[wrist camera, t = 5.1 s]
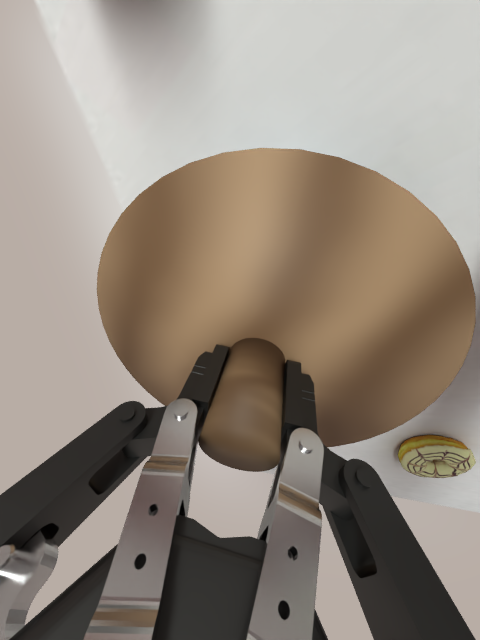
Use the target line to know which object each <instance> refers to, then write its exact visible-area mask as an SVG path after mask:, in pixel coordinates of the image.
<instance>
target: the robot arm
mask: <svg viewBox="0 0 480 640" xmlns="http://www.w3.org/2000/svg"><path fill="white" fill-rule="evenodd" d="M229 350H230V347H228V346H223V345H219V344H216V346H215V348H214V350H213V353H211V352H206V351H205V352H204V353H203V354H201V355H200V356H199V357H198V359H197V361H196V363H195V365H194V367H193V369H192V371H191V373H190V375H189V377H188V379H187V381H186V383H185V385H184V387H183V389H182V391H181V393H180V395H179V396H178V398H177V399H176V400H174V401H173V402H171V403H170V404H169V405H167V406H165V407H159V408H145V407H144V406H143V405H142V404H141V403H139V402H136V401H129V402H125V403H123V404H121V405H119V406H118V407H117V408H115V409H114V410H113V411H111V412H110V413H109V414H107V415H106V416H105V417H103V418H102V419H101V420H99V421H98V422H97V423H96V424H94V425H93V426H91V427H90V428H89V429H87V430H86V431H85V432H83V433H82V434H81V435H79V436H78V437H77V438H75V439H74V440H73V441H71V442H70V443H69V444H67V445H66V446H65V447H63V448H62V449H61V450H59V451H58V452H57V453H56V454H54V455H53V456H51V457H50V458H49V459H48V460H46V461H45V462H44V463H42V464H41V465H40V466H39V467H37V468H36V469H34V470H33V471H32V472H30V473H29V474H28V475H26V476H25V477H24V478H22V479H21V480H20V481H18V482H17V483H16V484H15V485H13V486H12V487H10V488H9V489H8V490H6V491H5V492H4V493H2V494H1V495H0V640H328V638H327V636H326V634H325V631H324V629H323V627H322V624H321V622H320V620H319V617H318V616H317V613H316V611H315V597H316V584H317V574H318V563H319V551H320V539H321V528H322V515H321V511H320V510H319V503H320V504H321V505H322V506H323V508H324V511H325V513H326V516H327V519H328V521H329V524H330V526H331V529H332V532H333V534H334V537H335V539H336V542H337V545H338V547H339V550H340V552H341V555H342V557H343V560H344V563H345V565H346V568H347V571H348V573H349V576H350V578H351V581H352V584H353V586H354V589H355V591H356V594H357V596H358V599H359V602H360V604H361V607H362V609H363V612H364V615H365V617H366V620H367V623H368V625H369V628H370V630H371V633H372V636H373V638H374V640H475V638H474V636H473V635H472V633H471V631H470V630H469V628H468V626H467V624H466V623H465V621H464V619H463V618H462V616H461V614H460V613H459V611H458V609H457V607H456V606H455V604H454V602H453V601H452V599H451V597H450V596H449V594H448V592H447V591H446V589H445V587H444V585H443V584H442V582H441V580H440V579H439V577H438V575H437V574H436V572H435V570H434V569H433V567H432V565H431V563H430V562H429V560H428V558H427V557H426V555H425V553H424V552H423V550H422V548H421V547H420V545H419V543H418V542H417V540H416V538H415V537H414V535H413V533H412V531H411V530H410V528H409V526H408V525H407V523H406V521H405V519H404V518H403V516H402V514H401V513H400V511H399V509H398V508H397V506H396V504H395V503H394V501H393V499H392V497H391V496H390V494H389V492H388V491H387V489H386V487H385V486H384V484H383V482H382V481H381V479H380V477H379V475H378V474H377V472H376V471H375V470H374V469H373V468H372V467H371V466H370V465H369V464H367V463H366V462H364V461H362V460H359V459H351V460H349V461H346V460H345V459H343V458H341V457H340V456H338V455H337V454H335V453H333V452H332V451H330V450H329V449H328V448H327V447H326V446H325V445H324V444H323V443H322V441H321V439H320V437H319V435H318V430H317V418H316V404H315V394H314V393H315V391H314V383H313V381H312V379H311V377H310V375H308V374H304V373H301V363H300V362H296V361H291V360H287V361H286V363H285V376H284V393H283V410H282V427H281V447H280V461H279V463H278V465H277V467H276V471H275V475H274V479H273V483H272V486H271V491H270V494H269V499H268V502H267V506H266V510H265V513H264V516H263V519H262V522H261V525H260V529H259V533H258V537H257V539H256V538H253V537H233V538H219V537H217V536H216V535H214V534H213V533H212V532H210V531H209V530H208V529H206V528H205V527H203V526H202V525H201V524H199V523H198V522H197V521H195V520H194V519H191V518H188V517H187V515H188V508H189V501H190V490H191V483H192V477H193V470H194V464H195V458H196V452H197V445H198V439H199V436H200V433H201V430H202V427H203V425H204V422H205V419H206V416H207V414H208V411H209V408H210V405H211V403H212V400H213V397H214V394H215V391H216V388H217V386H218V383H219V380H220V377H221V374H222V371H223V369H224V366H225V363H226V360H227V357H228V354H229ZM147 456H151V458H150V459H149V461H147V462H146V463H145V465H144V467H143V469H142V472H141V475H140V478H139V481H138V484H137V487H136V490H135V494H134V497H133V500H132V503H131V506H130V509H129V512H128V515H127V518H126V521H125V524H124V527H123V531H122V534H121V537H120V540H119V543H118V544H117V545H116V546H115V547H114V548H113V549H111V550H110V551H109V552H108V553H107V554H106V555H105V556H104V557H102V558H101V559H100V560H99V561H98V562H97V563H96V564H94V565H93V566H92V567H91V568H90V569H89V570H88V571H86V572H85V573H84V574H83V575H82V576H81V577H80V578H78V579H77V580H76V581H75V582H74V583H73V584H72V585H71V586H69V587H68V588H67V589H66V590H65V591H64V592H63V593H61V594H60V595H59V596H58V597H57V598H56V599H55V600H53V602H51V603H50V604H49V605H48V606H47V607H45V608H44V609H43V610H42V611H41V612H40V613H39V614H38V615H36V616H35V617H34V618H33V619H32V620H31V621H30V622H28V623H27V624H26V625H25V620H26V615H27V613H28V610H29V607H30V605H31V603H32V601H33V599H34V597H35V596H36V594H37V593H38V591H39V590H40V589H41V587H42V586H43V585H44V583H45V582H46V581H47V579H48V578H49V577H50V575H51V573H52V571H53V570H54V567H55V565H56V562H57V558H58V547H59V546H60V545H61V544H62V543H63V542H64V541H65V539H66V538H67V537H69V535H70V534H71V533H72V532H73V531H74V530H75V529H76V528H77V527H78V526H79V525H80V524H81V523H82V522H83V521H84V520H85V519H86V518H87V517H88V516H89V515H90V514H91V513H92V512H93V511H94V510H95V509H96V508H97V507H98V506H99V505H100V504H101V503H102V502H103V501H104V500H105V499H106V498H107V497H108V496H109V495H110V494H111V493H112V492H113V491H114V490H115V489H116V488H117V487H118V486H119V485H120V483H122V481H124V479H126V478H127V477H128V475H130V474H131V472H132V471H133V470H134V469H135V468H136V467H137V466H138V465H139V464H140V463H141V462H142V461H143V460H144V459H145V458H146V457H147Z"/></svg>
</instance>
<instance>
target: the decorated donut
mask: <svg viewBox="0 0 480 640" xmlns="http://www.w3.org/2000/svg"><path fill="white" fill-rule="evenodd" d="M398 457H399V461H400V463H401V465H402V467H403V468H404V469H405V470H407V471H408V472H410V473H412V474H415V475H418V476H421V477H433V478H446V477H453V476H458V475H459V474H462V473H464V472H467V471H468V470H470V469H471V468H472V467H473V466H474V464H475V463H476V461H475V459H474V456H473V453H472V451H471V450H470V449H468V448H467V447H466V446H465V445H464V444H463V443H462V442H459V441H456V440H454V439H452V438H446V437H443V436H435V435H424V436H418V437H413V438H410V439H407V440H406V441H404V443H402V444H401V447H400V450H399V453H398Z"/></svg>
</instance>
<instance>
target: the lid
mask: <svg viewBox="0 0 480 640" xmlns="http://www.w3.org/2000/svg"><path fill="white" fill-rule="evenodd" d="M97 296H98V305H99V311H100V315H101V319H102V323H103V326H104V329H105V331H106V334H107V336H108V338H109V341H110V343H111V345H112V347H113V348H114V350H115V352H116V354H117V356H118V357H119V359H120V360H121V362H122V363H123V365H124V366H125V367H126V369H127V370H128V371H129V372H130V374H131V375H132V376H133V377H134V378H135V379H136V381H137V382H138V383H140V385H141V386H142V387H143V388H144V389H145V390H146V391H147V392H148V393H150V394H151V395H152V396H153V397H154V398H156V399H157V400H158V401H159V402H161V403H162V404H163V405H165V406H167V405H169V404H170V403H171V402H173V401H174V400H176V399H177V398H178V396H179V395H180V393H181V391H182V389H183V387H184V385H185V383H186V381H187V379H188V377H189V375H190V373H191V371H192V369H193V367H194V365H195V363H196V361H197V359H198V357H199V356H200V355H201V354H203V353H204V352H205V351H206V352H211V353H213V350H214V348H215V346H216V344H219V345H223V346H228V347H230V350H229V354H228V357H227V360H226V363H225V366H224V369H223V371H222V374H221V377H220V380H219V383H218V386H217V388H216V391H215V394H214V397H213V400H212V403H211V405H210V408H209V411H208V414H207V416H206V419H205V422H204V425H203V427H202V430H201V433H200V436H199V439H198V442H199V445H200V447H201V449H202V450H203V452H204V453H205V454H207V455H208V456H209V457H210V458H212V459H214V460H215V461H217V462H219V463H221V464H223V465H226V466H228V467H231V468H235V469H239V470H244V471H253V472H254V471H255V472H258V471H266V470H270V469H272V468H274V467H276V466H277V465H278V463H279V461H280V447H281V427H282V410H283V393H284V376H285V363H286V361H287V360H291V361H296V362H300V363H301V373H304V374H308V375H310V377H311V379H312V381H313V383H314V391H315V393H314V394H315V404H316V418H317V430H318V435H319V437H320V439H321V441H322V443H323V444H324V445H325V446H326V447H334V446H340V445H345V444H350V443H355V442H358V441H362V440H366V439H369V438H372V437H375V436H377V435H380V434H383V433H385V432H388V431H390V430H392V429H394V428H396V427H398V426H400V425H402V424H404V423H406V422H407V421H409V420H410V419H412V418H413V417H415V416H416V415H418V414H419V413H421V412H422V411H423V410H425V409H426V408H427V407H428V406H429V405H431V404H432V403H433V402H434V401H435V400H436V399H437V398H438V397H439V396H440V395H441V394H442V393H443V392H444V391H445V389H446V388H447V387H448V386H449V385H450V384H451V382H452V381H453V379H454V378H455V376H456V375H457V373H458V372H459V370H460V368H461V367H462V365H463V362H464V360H465V358H466V355H467V353H468V351H469V348H470V346H471V341H472V337H473V332H474V327H475V293H474V289H473V284H472V280H471V275H470V271H469V268H468V266H467V264H466V262H465V260H464V257H463V255H462V253H461V251H460V249H459V247H458V245H457V243H456V241H455V240H454V239H453V237H452V236H451V235H450V233H449V232H448V231H447V229H446V228H445V227H444V225H443V224H442V223H441V221H440V220H439V219H438V217H437V216H436V215H435V214H434V213H433V212H432V211H430V210H429V209H428V208H427V207H426V206H425V205H424V204H423V203H421V202H420V201H419V200H418V199H417V198H416V197H415V196H414V195H413V194H411V193H410V192H409V191H407V190H406V189H404V188H402V187H401V186H399V185H397V184H396V183H394V182H392V181H391V180H389V179H388V178H386V177H384V176H383V175H381V174H379V173H378V172H376V171H373V170H370V169H368V168H365V167H363V166H360V165H357V164H355V163H352V162H350V161H347V160H345V159H342V158H339V157H334V156H330V155H325V154H320V153H315V152H310V151H305V150H300V149H274V148H257V149H249V150H241V151H233V152H226V153H221V154H218V155H215V156H211V157H208V158H205V159H201V160H198V161H195V162H192V163H189V164H187V165H185V166H183V167H181V168H179V169H177V170H175V171H173V172H171V173H169V174H167V175H165V176H163V177H162V178H160V179H159V180H158V181H156V182H155V183H154V184H152V185H151V186H150V187H148V188H147V189H146V190H144V191H143V192H142V193H141V194H139V195H138V196H137V197H136V199H135V200H134V201H133V202H132V203H131V204H130V205H129V206H128V207H127V208H126V209H125V211H124V212H123V213H122V214H121V216H120V217H119V219H118V221H117V222H116V224H115V225H114V227H113V228H112V230H111V232H110V233H109V236H108V238H107V241H106V243H105V246H104V248H103V251H102V254H101V259H100V264H99V269H98V277H97Z"/></svg>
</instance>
